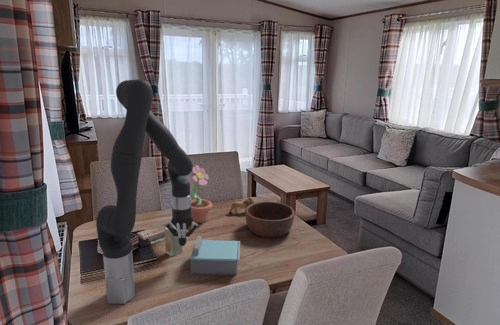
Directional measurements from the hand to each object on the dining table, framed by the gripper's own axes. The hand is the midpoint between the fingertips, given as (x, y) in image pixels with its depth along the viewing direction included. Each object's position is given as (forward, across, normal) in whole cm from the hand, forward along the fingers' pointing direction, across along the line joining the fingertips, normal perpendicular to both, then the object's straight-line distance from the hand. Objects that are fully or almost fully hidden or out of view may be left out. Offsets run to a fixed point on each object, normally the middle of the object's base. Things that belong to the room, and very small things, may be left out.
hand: (182, 245), depth 137 cm
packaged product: (+9, -18, +22) cm, 29 cm away
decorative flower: (+9, 0, +42) cm, 43 cm away
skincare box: (+9, -6, +9) cm, 14 cm away
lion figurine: (+9, +23, +54) cm, 59 cm away
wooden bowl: (+9, +37, +34) cm, 51 cm away
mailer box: (+9, +13, 0) cm, 16 cm away
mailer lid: (+4, +14, 0) cm, 14 cm away
